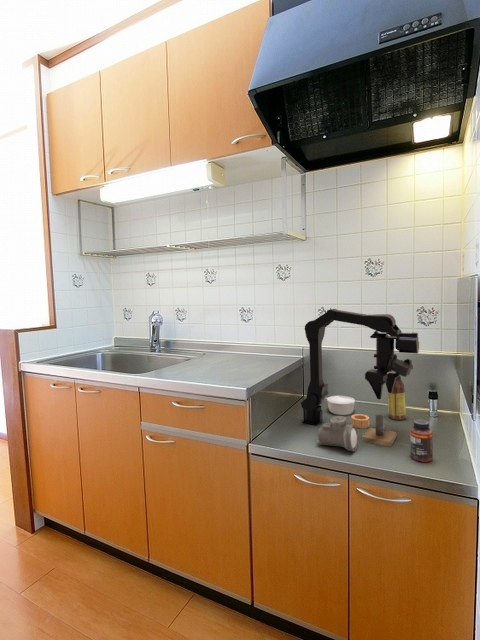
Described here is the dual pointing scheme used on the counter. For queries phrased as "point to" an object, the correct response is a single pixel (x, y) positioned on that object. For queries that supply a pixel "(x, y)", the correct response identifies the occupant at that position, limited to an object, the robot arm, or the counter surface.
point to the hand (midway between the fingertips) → (384, 395)
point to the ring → (360, 421)
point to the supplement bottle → (421, 441)
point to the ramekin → (341, 405)
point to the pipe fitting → (339, 434)
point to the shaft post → (379, 434)
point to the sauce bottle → (397, 401)
